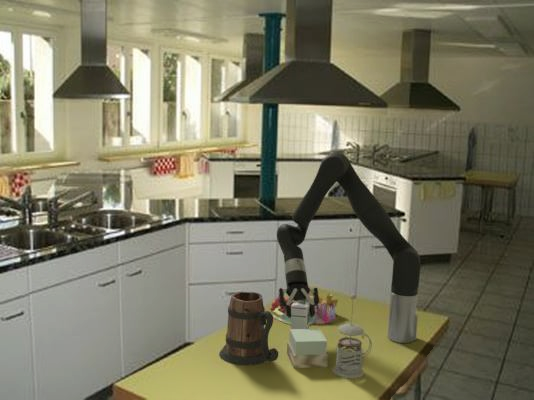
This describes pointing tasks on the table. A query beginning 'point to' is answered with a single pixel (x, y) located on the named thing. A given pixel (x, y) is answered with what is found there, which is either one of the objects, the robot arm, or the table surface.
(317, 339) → the tower top block
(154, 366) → the table surface
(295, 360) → the tower bottom block
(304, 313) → the syrup box
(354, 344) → the french press
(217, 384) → the table surface
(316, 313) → the candy dessert plate
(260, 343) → the tankard
